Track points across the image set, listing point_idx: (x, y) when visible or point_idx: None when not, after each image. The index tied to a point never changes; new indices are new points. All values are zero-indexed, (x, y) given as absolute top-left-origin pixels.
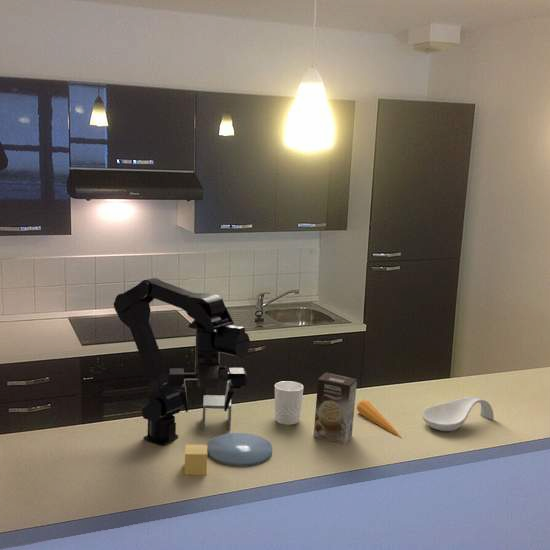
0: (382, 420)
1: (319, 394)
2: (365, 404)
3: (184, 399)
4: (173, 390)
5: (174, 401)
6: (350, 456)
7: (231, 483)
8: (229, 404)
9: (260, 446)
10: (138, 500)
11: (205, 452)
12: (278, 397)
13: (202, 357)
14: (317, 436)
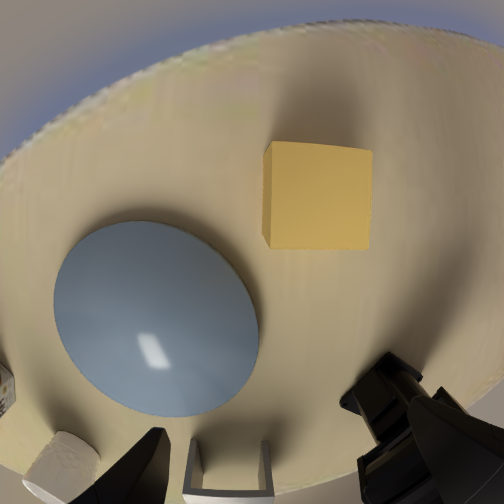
0: None
1: None
2: None
3: (485, 432)
4: (434, 499)
5: (421, 464)
6: None
7: (179, 95)
8: (189, 499)
9: (84, 331)
10: (426, 52)
11: (281, 160)
12: (70, 487)
13: None
14: (5, 369)
